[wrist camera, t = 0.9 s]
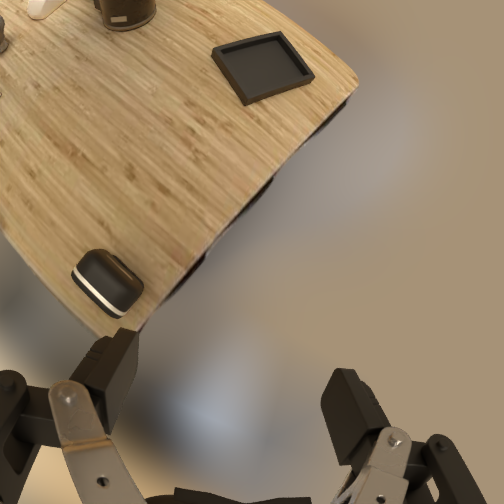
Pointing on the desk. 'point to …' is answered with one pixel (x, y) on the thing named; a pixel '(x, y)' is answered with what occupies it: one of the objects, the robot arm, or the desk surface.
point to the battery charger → (107, 282)
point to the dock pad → (262, 66)
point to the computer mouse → (42, 8)
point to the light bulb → (2, 35)
